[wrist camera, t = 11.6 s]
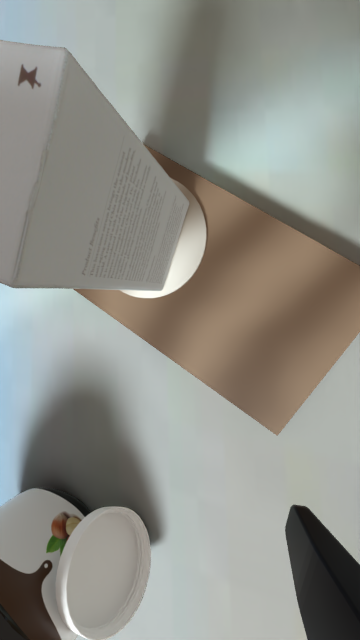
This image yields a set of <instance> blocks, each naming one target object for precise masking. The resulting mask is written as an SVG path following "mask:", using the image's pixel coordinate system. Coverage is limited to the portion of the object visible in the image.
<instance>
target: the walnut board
mask: <svg viewBox="0 0 360 640" xmlns="http://www.w3.org/2000/svg"><path fill="white" fill-rule="evenodd" d="M143 145H144V144H143ZM144 146H145V147H146V148H147V149H148V151H149V152H150V153H151V154H152V156H153V157H154V158H155V159H156V161H157V162H158V163H159V164H160V166H161V167H162V168H163V169H164V171H165V172H166V173H167V174H168V176H169V177H170V178H171V180H172V181H173V182H174V183H175V185H176V186H177V187H178V188H179V189H180V191H181V192H182V193H183V194H184V196H185V197H186V198H187V199H188V201H189V207H188V210H187V213H186V216H185V219H184V222H183V225H182V229H181V232H180V235H179V238H178V242H177V245H176V248H175V252H174V255H173V258H172V261H171V264H170V268H169V271H168V274H167V277H166V280H165V284H164V287H163V290H162V291H136V290H105V289H74V290H75V291H77V292H78V293H79V294H81V295H82V296H84V297H85V298H86V299H88V300H89V301H91V302H92V303H93V304H95V305H96V306H98V307H99V308H100V309H102V310H103V311H105V312H106V313H107V314H109V315H110V316H111V317H113V318H114V319H116V320H117V321H118V322H120V323H121V324H123V325H124V326H125V327H127V328H128V329H130V330H131V331H132V332H134V333H135V334H137V335H138V336H139V337H141V338H142V339H143V340H145V341H146V342H148V343H149V344H150V345H152V346H153V347H155V348H156V349H157V350H159V351H160V352H162V353H163V354H164V355H166V356H167V357H169V358H170V359H171V360H173V361H174V362H175V363H177V364H178V365H180V366H181V367H182V368H184V369H185V370H187V371H188V372H189V373H191V374H192V375H194V376H195V377H196V378H198V379H199V380H201V381H202V382H203V383H205V384H206V385H207V386H209V387H210V388H212V389H213V390H214V391H216V392H217V393H219V394H220V395H221V396H223V397H224V398H226V399H227V400H228V401H230V402H231V403H233V404H234V405H235V406H237V407H238V408H239V409H241V410H242V411H244V412H245V413H246V414H248V415H249V416H251V417H252V418H253V419H255V420H256V421H258V422H259V423H260V424H262V425H263V426H265V427H266V428H267V429H269V430H270V431H271V432H273V433H274V434H276V435H278V434H279V433H280V432H281V430H282V429H283V428H284V427H285V425H286V424H287V423H288V422H289V420H290V419H291V418H292V417H293V415H294V414H295V413H296V412H297V410H298V409H299V408H300V407H301V405H302V404H303V403H304V401H305V400H306V399H307V398H308V396H309V395H310V394H311V393H312V391H313V390H314V389H315V388H316V386H317V385H318V384H319V383H320V381H321V380H322V379H323V378H324V376H325V375H326V374H327V372H328V371H329V370H330V369H331V367H332V366H333V365H334V364H335V362H336V361H337V360H338V359H339V357H340V356H341V355H342V354H343V352H344V351H345V350H346V349H347V347H348V346H349V345H350V344H351V342H352V341H353V340H354V338H355V337H356V336H357V335H358V333H359V332H360V266H359V265H357V264H356V263H354V262H352V261H350V260H349V259H347V258H345V257H343V256H341V255H340V254H338V253H336V252H334V251H333V250H331V249H329V248H327V247H325V246H324V245H322V244H320V243H318V242H317V241H315V240H313V239H311V238H309V237H308V236H306V235H304V234H302V233H301V232H299V231H297V230H295V229H293V228H292V227H290V226H288V225H286V224H285V223H283V222H281V221H279V220H277V219H276V218H274V217H272V216H270V215H269V214H267V213H265V212H263V211H261V210H260V209H258V208H256V207H254V206H253V205H251V204H249V203H247V202H245V201H244V200H242V199H240V198H238V197H237V196H235V195H233V194H231V193H229V192H228V191H226V190H224V189H222V188H221V187H219V186H217V185H215V184H213V183H212V182H210V181H208V180H206V179H205V178H203V177H201V176H199V175H197V174H196V173H194V172H192V171H190V170H189V169H187V168H185V167H183V166H181V165H180V164H178V163H176V162H174V161H173V160H171V159H169V158H167V157H165V156H164V155H162V154H160V153H158V152H157V151H155V150H153V149H151V148H149V147H148V146H146V145H144Z"/></svg>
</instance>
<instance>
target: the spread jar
mask: <svg viewBox="0 0 360 640" xmlns="http://www.w3.org/2000/svg"><path fill="white" fill-rule="evenodd" d="M150 564H151V549H150V540H149V536H148V532H147V530H146V527H145V525H144V523H143V521H142V520H141V518H140V517H139V516H138V515H137V514H136V513H135V512H134V511H133V510H131V509H129V508H126V507H118V506H109V507H102V508H99V509H97V510H94V511H93V512H90V511H89V509H88V508H87V507H86V506H85V505H84V504H83V503H82V502H81V501H79V500H78V499H77V498H75V497H73V496H72V495H70V494H68V493H65V492H63V491H60V490H57V489H52V488H45V487H41V488H33V489H29V490H27V491H24V492H22V493H20V494H18V495H16V496H15V497H13V498H12V499H10V500H9V501H7V502H6V503H5V504H3V505H2V506H1V507H0V640H75V639H76V637H77V636H78V635H80V636H82V637H85V638H87V639H90V640H106V639H108V638H110V637H112V636H114V635H115V634H117V633H118V632H119V631H121V630H122V629H123V628H124V627H125V626H126V624H127V623H128V622H129V621H130V620H131V618H132V617H133V615H134V614H135V612H136V611H137V609H138V607H139V605H140V602H141V600H142V598H143V595H144V592H145V589H146V587H147V582H148V578H149V573H150Z"/></svg>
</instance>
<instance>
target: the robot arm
mask: <svg viewBox="0 0 360 640" xmlns="http://www.w3.org/2000/svg"><path fill="white" fill-rule="evenodd" d="M285 533H286V540H287V545H288V551H289V557H290V562H291V568H292V574H293V579H294V585H295V591H296V596H297V601H298V605H299V609H300V613H301V617H302V620H303V624H304V628H305V632H306V635H307V639H308V640H360V565H359V563H358V562H357V561H356V560H355V559H354V558H353V557H352V556H351V555H350V554H349V552H348V551H347V550H346V549H345V548H344V547H343V546H342V545H341V544H340V543H339V541H338V540H337V539H336V538H335V537H334V536H333V535H332V534H331V533H330V531H329V530H328V529H327V528H326V527H325V526H324V525H323V524H322V523H321V522H320V520H319V519H318V518H317V517H316V516H315V515H314V514H313V513H312V512H311V511H310V509H309V508H307V507H306V506H300V505H292V506H291V508H290V512H289V515H288V519H287V523H286V528H285Z"/></svg>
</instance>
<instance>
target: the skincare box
mask: <svg viewBox="0 0 360 640" xmlns="http://www.w3.org/2000/svg"><path fill="white" fill-rule="evenodd" d="M188 207H189V201H188V199H187V198H186V197H185V196H184V194H183V193H182V192H181V191H180V189H179V188H178V187H177V186H176V185H175V183H174V182H173V181H172V180H171V178H170V177H169V176H168V174H167V173H166V172H165V171H164V169H163V168H162V167H161V166H160V164H159V163H158V162H157V161H156V159H155V158H154V157H153V156H152V154H151V153H150V152H149V151H148V149H147V148H146V147H145V146H144V145H143V143H142V142H141V141H140V140H139V138H138V137H137V136H136V135H135V133H134V132H133V131H132V130H131V128H130V127H129V126H128V125H127V123H126V122H125V121H124V120H123V118H122V117H121V116H120V115H119V113H118V112H117V111H116V110H115V108H114V107H113V106H112V105H111V103H110V102H109V101H108V100H107V99H106V97H105V96H104V95H103V94H102V93H101V91H100V90H99V89H98V87H97V86H96V85H95V83H94V82H93V81H92V80H91V78H90V77H89V76H88V75H87V73H86V72H85V71H84V70H83V68H82V67H81V66H80V65H79V63H78V62H77V61H76V59H75V58H74V57H73V56H72V54H71V53H70V52H69V51H68V50H67V49H66V48H62V47H50V46H40V45H32V44H24V43H17V42H10V41H3V40H0V283H2V284H5V285H7V286H9V287H12V288H66V289H105V290H136V291H162V290H163V287H164V284H165V280H166V277H167V274H168V271H169V268H170V264H171V261H172V258H173V255H174V252H175V248H176V245H177V242H178V238H179V235H180V232H181V229H182V225H183V222H184V219H185V216H186V213H187V210H188Z"/></svg>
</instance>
